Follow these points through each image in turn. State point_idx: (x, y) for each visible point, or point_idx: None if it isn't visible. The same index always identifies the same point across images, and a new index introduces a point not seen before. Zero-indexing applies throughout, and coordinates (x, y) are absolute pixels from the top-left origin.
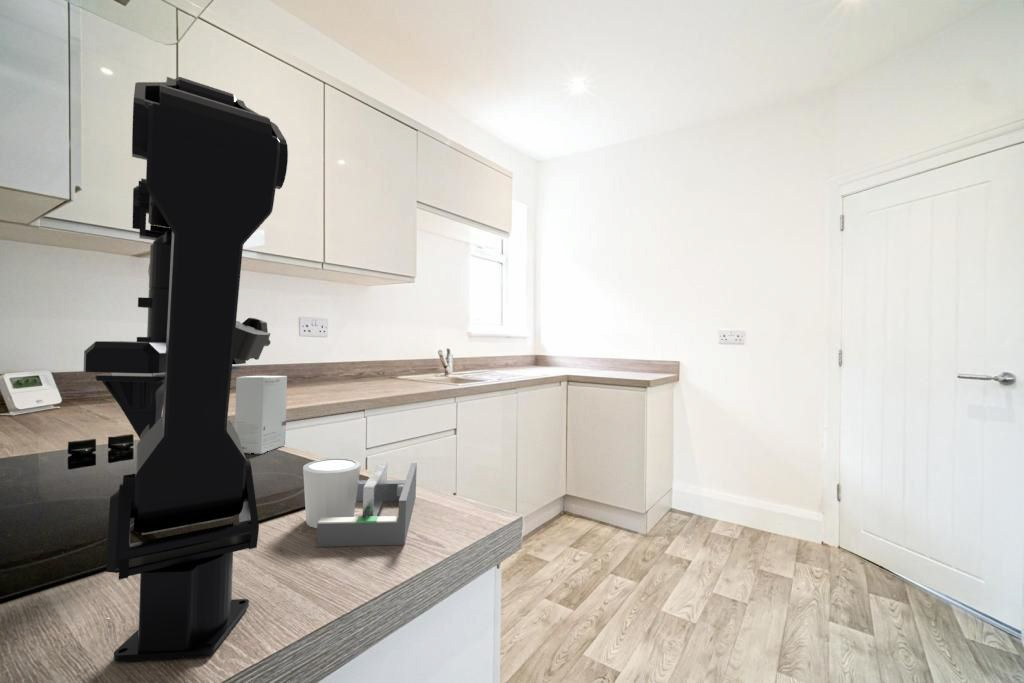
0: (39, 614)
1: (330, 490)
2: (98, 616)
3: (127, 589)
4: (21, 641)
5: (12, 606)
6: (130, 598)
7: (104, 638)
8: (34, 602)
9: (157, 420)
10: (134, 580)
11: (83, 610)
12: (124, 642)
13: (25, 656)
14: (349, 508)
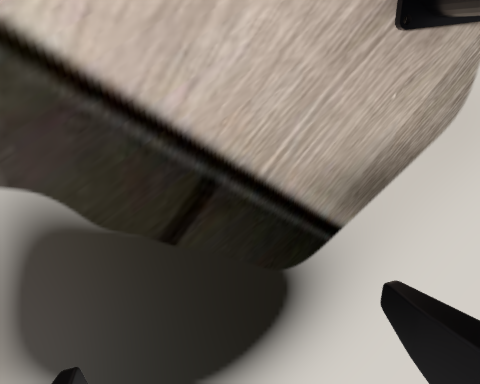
0: (372, 176)
1: None
2: (388, 110)
3: (333, 126)
4: (417, 148)
5: (353, 215)
6: (355, 104)
7: (433, 66)
8: (348, 203)
9: (474, 327)
10: (311, 136)
11: (373, 138)
12: (473, 21)
13: (442, 122)
14: None
